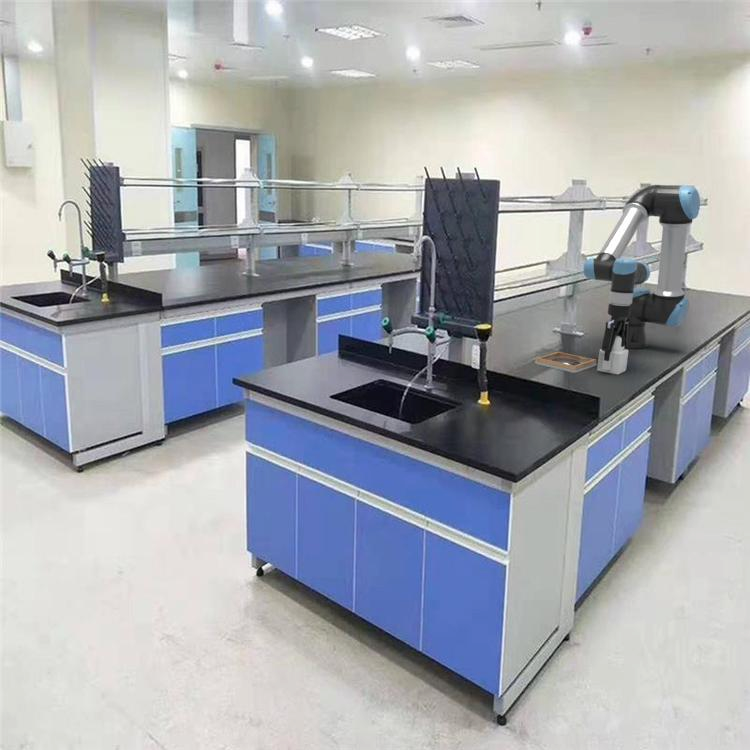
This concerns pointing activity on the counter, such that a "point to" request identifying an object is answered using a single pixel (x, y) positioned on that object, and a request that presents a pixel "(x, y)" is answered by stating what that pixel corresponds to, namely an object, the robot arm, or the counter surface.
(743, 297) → the counter surface
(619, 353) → the container
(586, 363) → the wooden square frame
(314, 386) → the counter surface
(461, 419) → the counter surface
